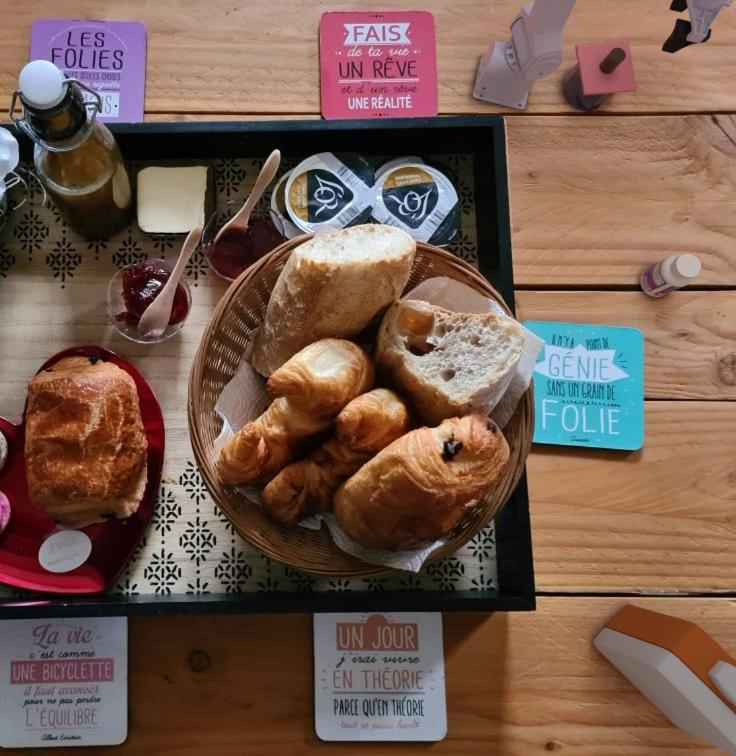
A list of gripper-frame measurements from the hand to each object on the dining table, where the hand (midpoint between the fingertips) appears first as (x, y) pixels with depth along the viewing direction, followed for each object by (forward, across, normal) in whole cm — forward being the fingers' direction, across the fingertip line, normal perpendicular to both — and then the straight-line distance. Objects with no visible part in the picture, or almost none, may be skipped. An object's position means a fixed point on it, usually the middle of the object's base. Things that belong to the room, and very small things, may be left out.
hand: (671, 29), depth 121 cm
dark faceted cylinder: (+10, -7, +8) cm, 15 cm away
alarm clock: (+11, -101, -20) cm, 104 cm away
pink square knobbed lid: (+4, -7, +8) cm, 11 cm away
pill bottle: (+11, -39, -10) cm, 42 cm away
